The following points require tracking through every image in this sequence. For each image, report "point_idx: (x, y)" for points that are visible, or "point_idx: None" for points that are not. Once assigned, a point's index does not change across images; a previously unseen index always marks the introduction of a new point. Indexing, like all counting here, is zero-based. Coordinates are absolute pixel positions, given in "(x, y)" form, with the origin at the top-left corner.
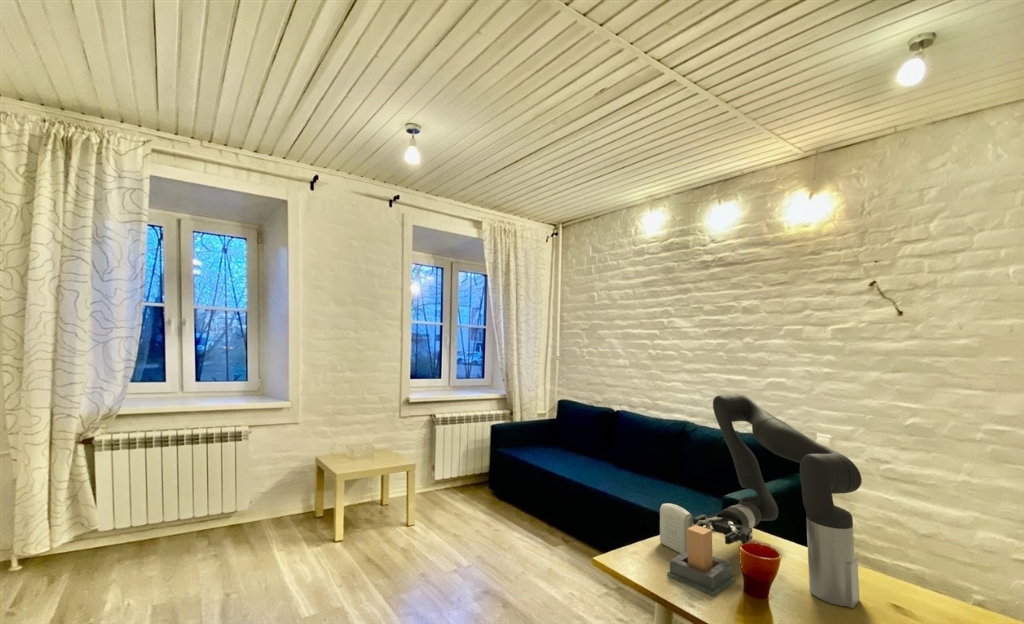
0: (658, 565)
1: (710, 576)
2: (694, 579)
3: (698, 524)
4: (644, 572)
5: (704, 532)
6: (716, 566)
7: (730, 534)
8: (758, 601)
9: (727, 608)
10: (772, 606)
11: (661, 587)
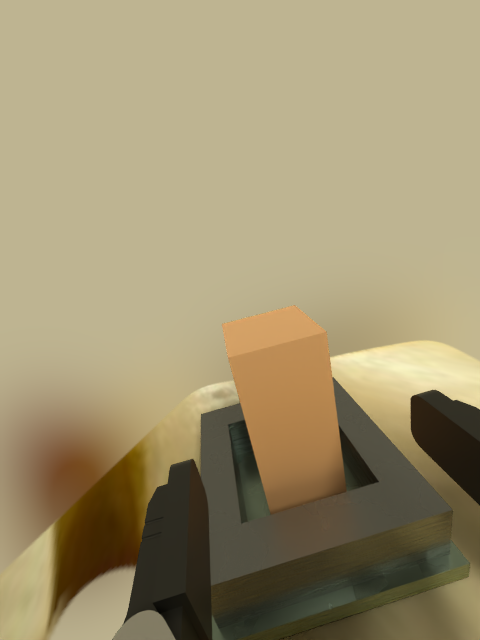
0: None
1: (205, 413)
2: None
3: (454, 420)
4: (372, 379)
5: (230, 329)
6: (230, 475)
7: (166, 511)
8: (90, 562)
9: (162, 443)
10: (40, 584)
11: None
